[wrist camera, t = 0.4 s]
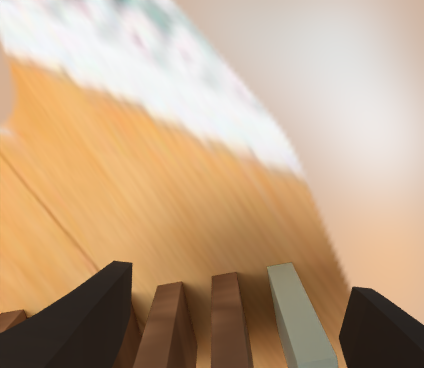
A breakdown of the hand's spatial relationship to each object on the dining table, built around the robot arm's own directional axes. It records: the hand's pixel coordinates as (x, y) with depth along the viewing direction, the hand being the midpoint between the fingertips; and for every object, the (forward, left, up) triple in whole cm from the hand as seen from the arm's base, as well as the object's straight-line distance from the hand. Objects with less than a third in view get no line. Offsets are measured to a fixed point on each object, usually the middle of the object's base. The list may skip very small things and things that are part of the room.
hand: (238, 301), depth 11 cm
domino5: (-1, -7, -10) cm, 12 cm away
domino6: (+3, -7, -10) cm, 12 cm away
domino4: (-5, -7, -10) cm, 13 cm away
